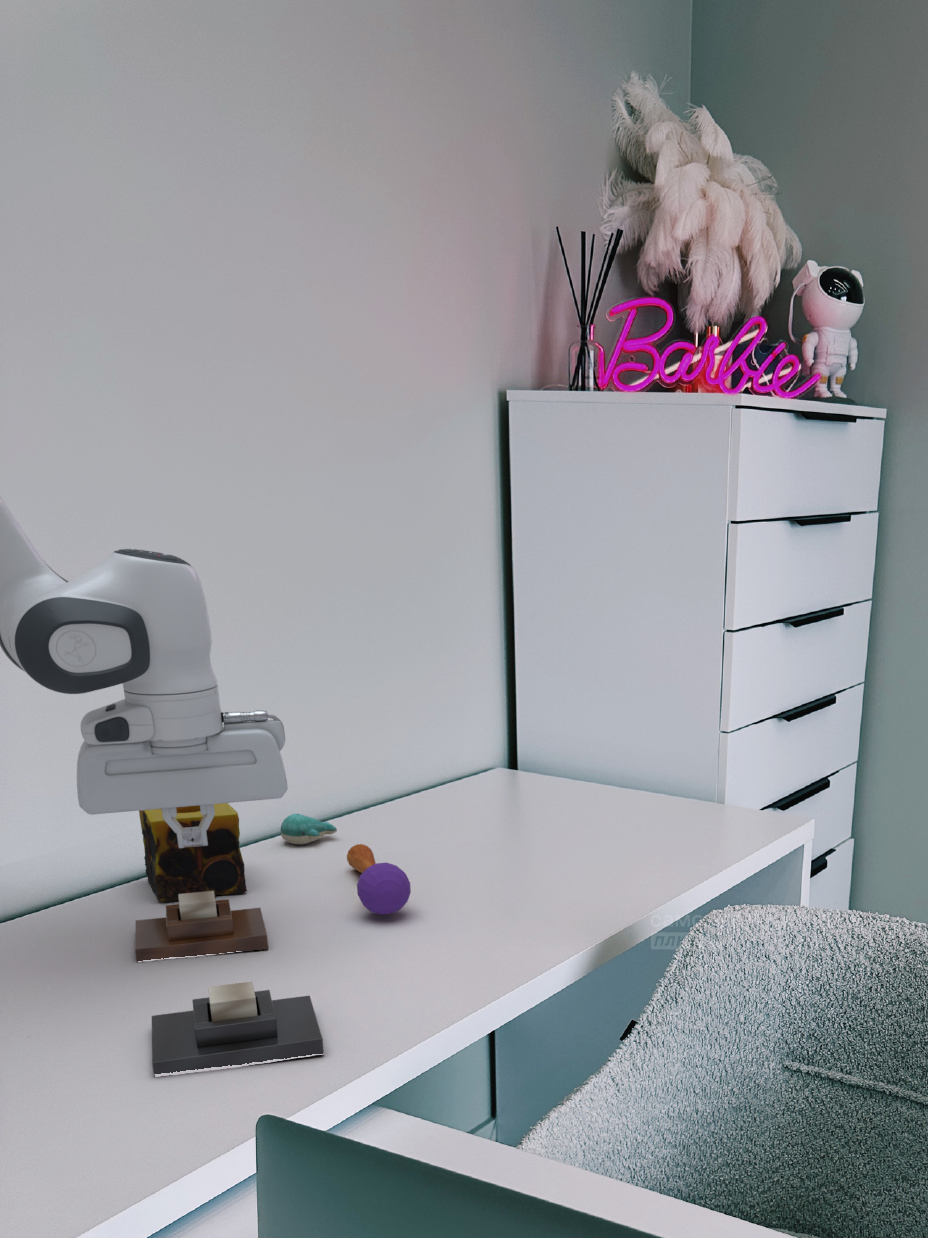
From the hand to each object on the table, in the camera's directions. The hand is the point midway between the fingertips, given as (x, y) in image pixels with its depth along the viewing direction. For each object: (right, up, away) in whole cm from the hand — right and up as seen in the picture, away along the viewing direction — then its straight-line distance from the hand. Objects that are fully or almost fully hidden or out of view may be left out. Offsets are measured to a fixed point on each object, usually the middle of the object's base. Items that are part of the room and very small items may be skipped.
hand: (193, 845), depth 132 cm
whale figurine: (0, +3, +39) cm, 40 cm away
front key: (+12, -16, -20) cm, 28 cm away
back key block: (-1, -10, +4) cm, 11 cm away
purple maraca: (+14, -5, +20) cm, 25 cm away
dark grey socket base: (+12, -19, -19) cm, 29 cm away
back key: (-1, -7, +3) cm, 8 cm away
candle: (-8, -4, +20) cm, 22 cm away
